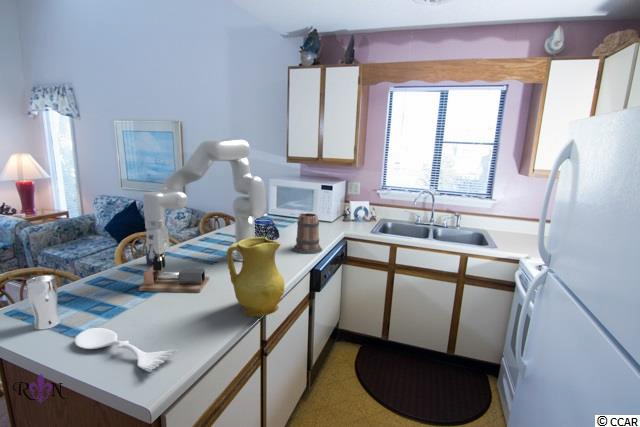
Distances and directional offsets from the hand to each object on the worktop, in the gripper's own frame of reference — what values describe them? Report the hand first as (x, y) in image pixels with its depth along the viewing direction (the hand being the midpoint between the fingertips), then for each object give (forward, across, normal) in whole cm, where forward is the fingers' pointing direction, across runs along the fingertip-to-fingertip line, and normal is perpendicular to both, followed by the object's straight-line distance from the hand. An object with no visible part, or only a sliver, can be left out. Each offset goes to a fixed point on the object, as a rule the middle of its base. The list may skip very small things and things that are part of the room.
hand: (159, 268), depth 130 cm
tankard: (+8, +53, -61) cm, 81 cm away
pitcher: (+7, -17, -42) cm, 46 cm away
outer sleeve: (+6, 0, -13) cm, 14 cm away
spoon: (+8, -44, -8) cm, 45 cm away
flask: (+7, +23, +12) cm, 27 cm away
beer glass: (+7, -30, +22) cm, 38 cm away
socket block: (+6, 0, +3) cm, 7 cm away
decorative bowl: (+8, +75, -32) cm, 82 cm away
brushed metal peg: (+5, 0, -3) cm, 6 cm away
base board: (+7, 0, -6) cm, 9 cm away
